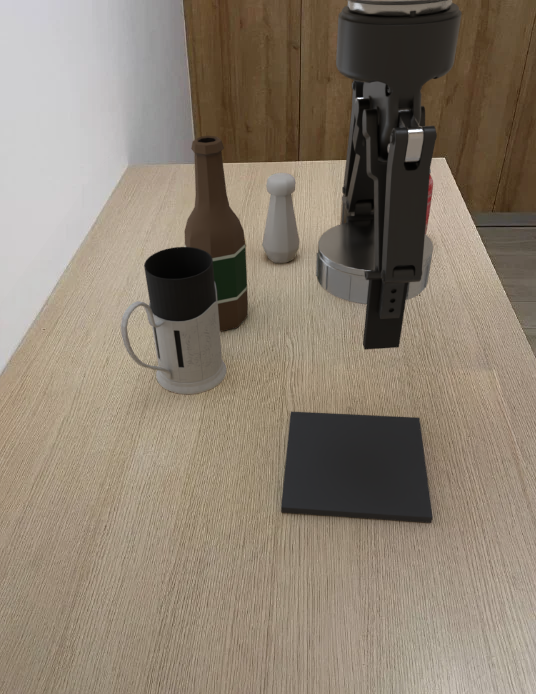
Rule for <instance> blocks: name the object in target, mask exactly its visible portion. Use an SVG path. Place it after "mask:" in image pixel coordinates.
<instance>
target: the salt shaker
mask: <svg viewBox="0 0 536 694" xmlns="http://www.w3.org/2000/svg"><path fill="white" fill-rule="evenodd" d="M265 186H266V192H267V193H268V194H269V195H270V196H269V202H268V206H267V207H268V208H267V214H266V218H265V219H266V220H265V227H264V231H263V236H262V237H263V238H262V244H261V245H262V249H263V251H264V253H265V255H266V257H267V259H269V260H270V261H271V262H273V263H276V264H283V263H284V264H285V263H288V262H291V261H292V260H294V259H295V258H296V255H297V253H298V251H299V248H300V237H299V230H298V225H297V221H296V215H295V214H296V213H295V209H294V203H293V196H292V195H293V193H295V191H296V178H295V176H293V175H292V174H291V173H288V172H276V173H272V174H271V175H269V176H268V177H267V178H266V185H265Z"/></svg>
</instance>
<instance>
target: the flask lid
mask: <svg viewBox="0 0 536 694" xmlns="http://www.w3.org/2000/svg"><path fill="white" fill-rule="evenodd" d="M433 253H434V244H433V241H432V239H431V238H430V236H428V235H427V233H426V234H425V239H424V251H423V264H422V276H421V280H420V281H419V282H408V288H407V295H406V301H408V300H411V299H413V298H415V297H416V296H418V295H420V294H421V293H422V292H423V291H424V290H425V289H427V285H428V283H429V277H430V271H431V266H432V260H433ZM315 263H316V264H315V277H316V278H317V279H316V280H317V282H318V284H319V285H320V287H321V288H322V289H323V290H324V291H325V292H326V293H328V294H329V295H332V296H333V297H336V298H337V299H341V300H343V301H347V302H350V303H354V304H360V305H367V296H368V286H369V280H366V279H365V273H364V271H371V270H374V267H375V228H374V220H359V221H352V222H347V223H343V224H337V225H335V226H332V227H330V228H329V229H327V230H326V231H324V232H323V233H322V234H321V235H320V237H319V238H318V242H317V252H316V261H315Z"/></svg>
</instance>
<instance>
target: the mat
mask: <svg viewBox="0 0 536 694" xmlns="http://www.w3.org/2000/svg"><path fill="white" fill-rule="evenodd" d="M286 444H287V446H286V455H285V465H284V476H283V483H282V484H283V485H282V495H281V496H282V497H281V505H280V512H281V513H282V514H283V513H284V514H296V515H297V514H298V515H312V516H326V517H327V516H328V517H341V518H354V519H355V518H356V519H369V520H385V521H399V522H412V523H427V524H431V523H432V522H433V509H432V504H431V503H432V502H431V495H430V487H429V486H430V485H429V478H428V473H427V464H426V457H425V450H424V441H423V434H422V426H421V420H420V417H412V416H392V415H372V414H371V415H370V414H354V413H353V414H352V413H351V414H350V413H332V412H331V413H330V412H313V411H312V412H311V411H290V415H289V426H288V435H287V443H286Z"/></svg>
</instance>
